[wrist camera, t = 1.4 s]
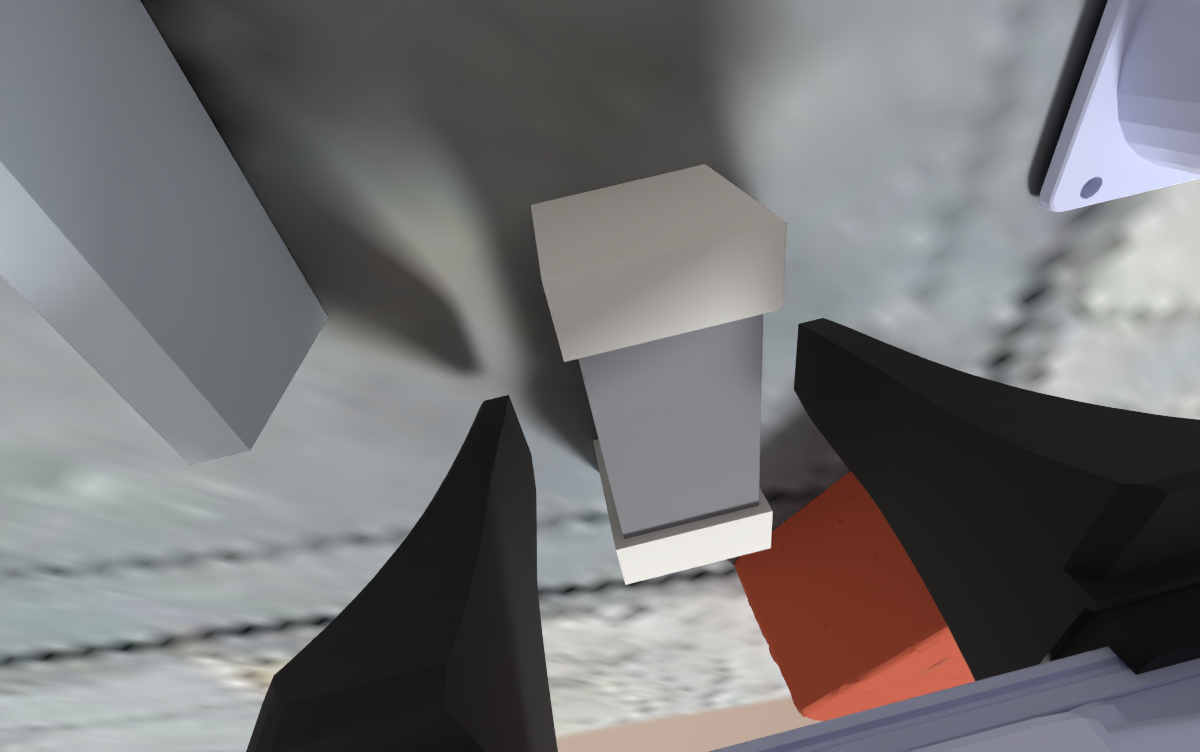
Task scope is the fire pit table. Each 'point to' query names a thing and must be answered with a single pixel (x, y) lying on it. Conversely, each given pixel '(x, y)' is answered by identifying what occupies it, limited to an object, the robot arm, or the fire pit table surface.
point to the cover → (142, 227)
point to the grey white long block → (669, 356)
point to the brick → (848, 609)
